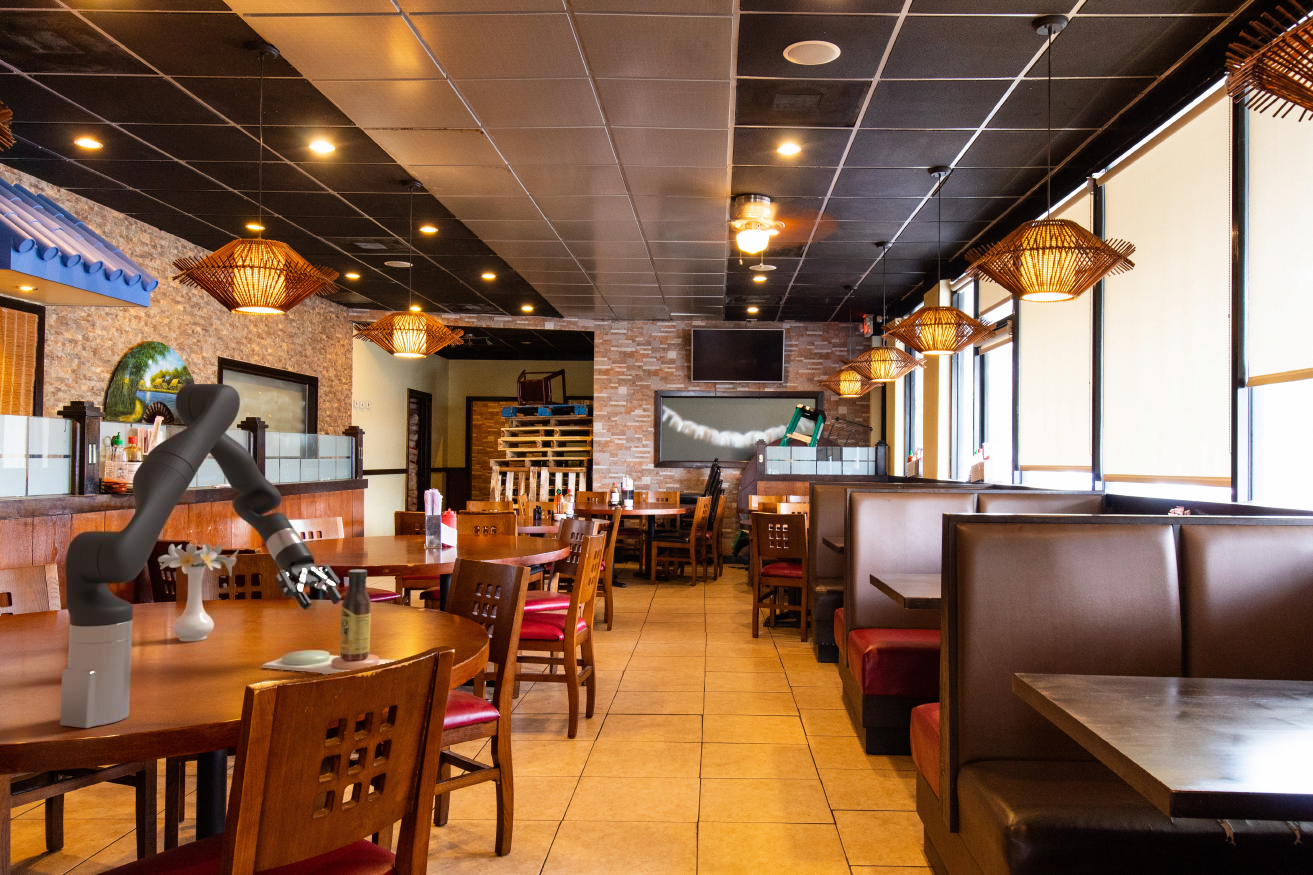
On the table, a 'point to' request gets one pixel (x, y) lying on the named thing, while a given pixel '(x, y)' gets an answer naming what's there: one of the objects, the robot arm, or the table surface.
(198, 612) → the flower vase
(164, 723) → the table surface
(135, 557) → the robot arm
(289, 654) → the tray
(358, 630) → the sauce bottle
